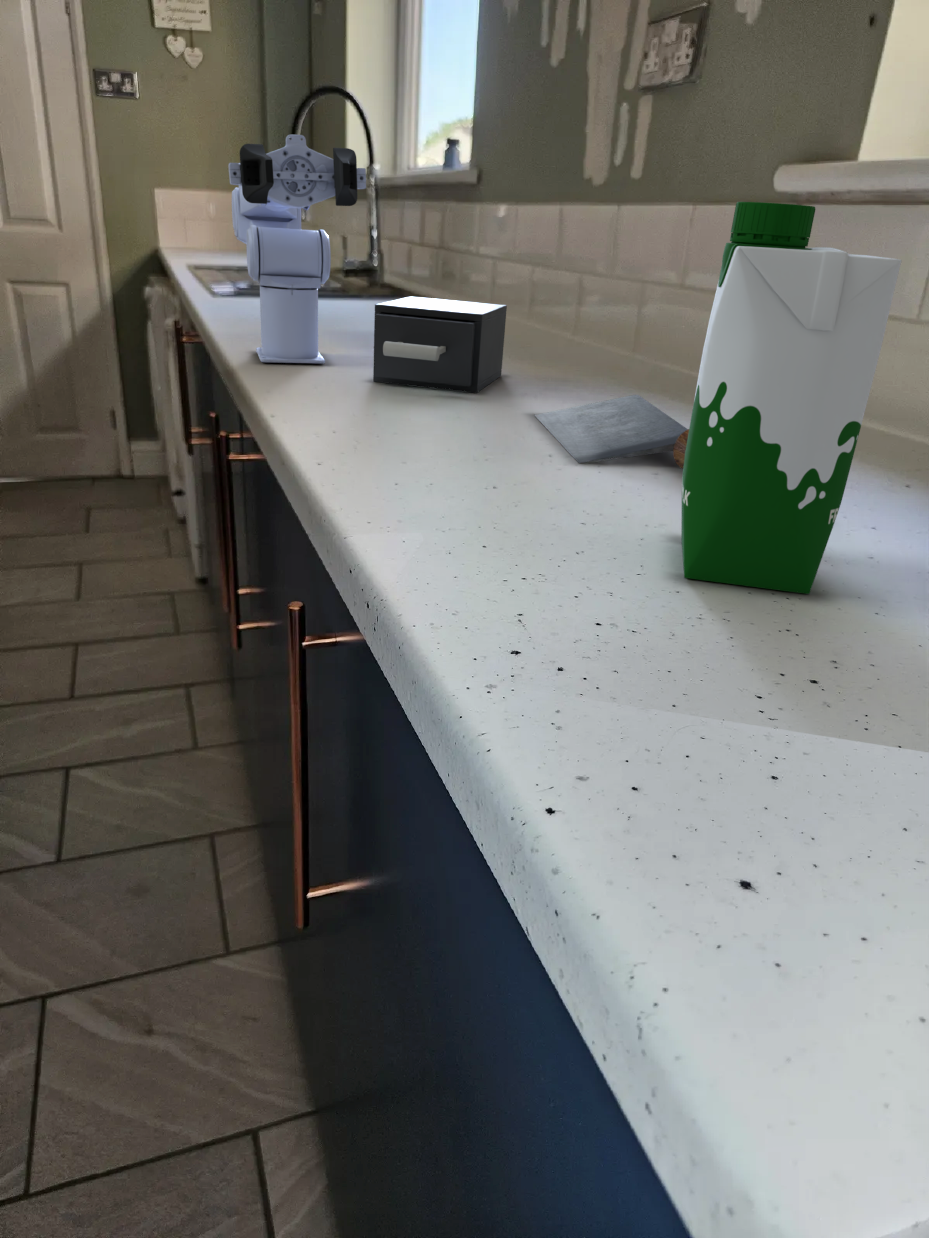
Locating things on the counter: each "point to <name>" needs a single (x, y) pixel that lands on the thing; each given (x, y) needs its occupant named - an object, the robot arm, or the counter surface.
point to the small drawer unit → (485, 340)
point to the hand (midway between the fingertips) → (308, 172)
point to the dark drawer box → (424, 349)
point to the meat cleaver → (616, 430)
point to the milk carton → (779, 399)
